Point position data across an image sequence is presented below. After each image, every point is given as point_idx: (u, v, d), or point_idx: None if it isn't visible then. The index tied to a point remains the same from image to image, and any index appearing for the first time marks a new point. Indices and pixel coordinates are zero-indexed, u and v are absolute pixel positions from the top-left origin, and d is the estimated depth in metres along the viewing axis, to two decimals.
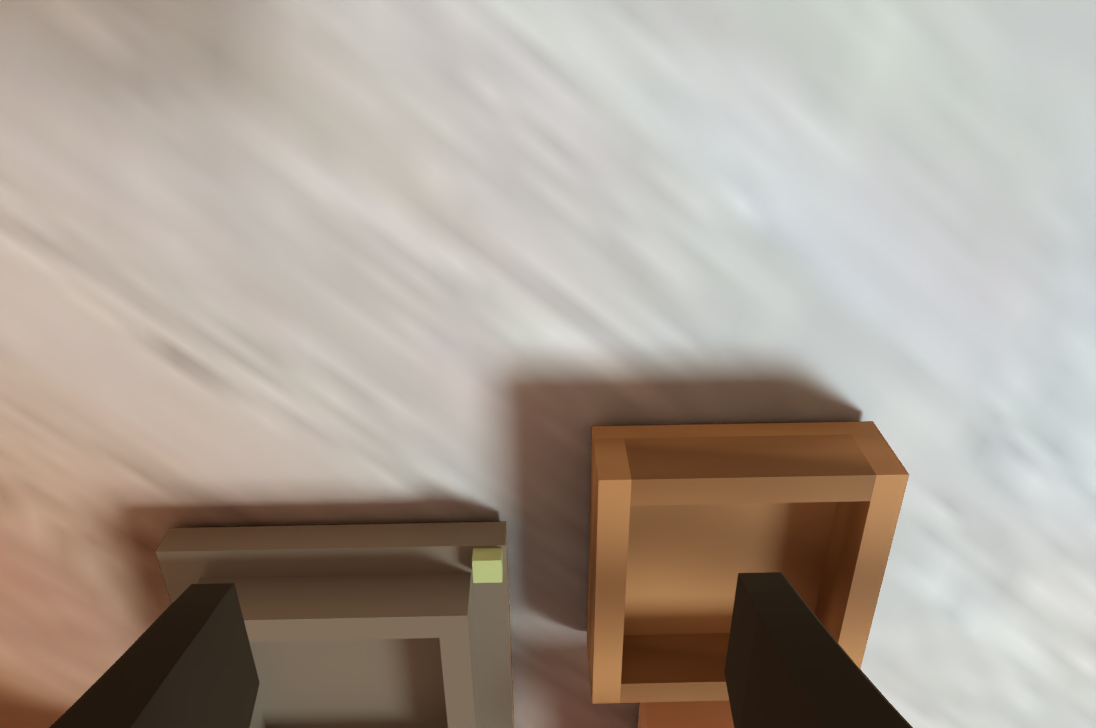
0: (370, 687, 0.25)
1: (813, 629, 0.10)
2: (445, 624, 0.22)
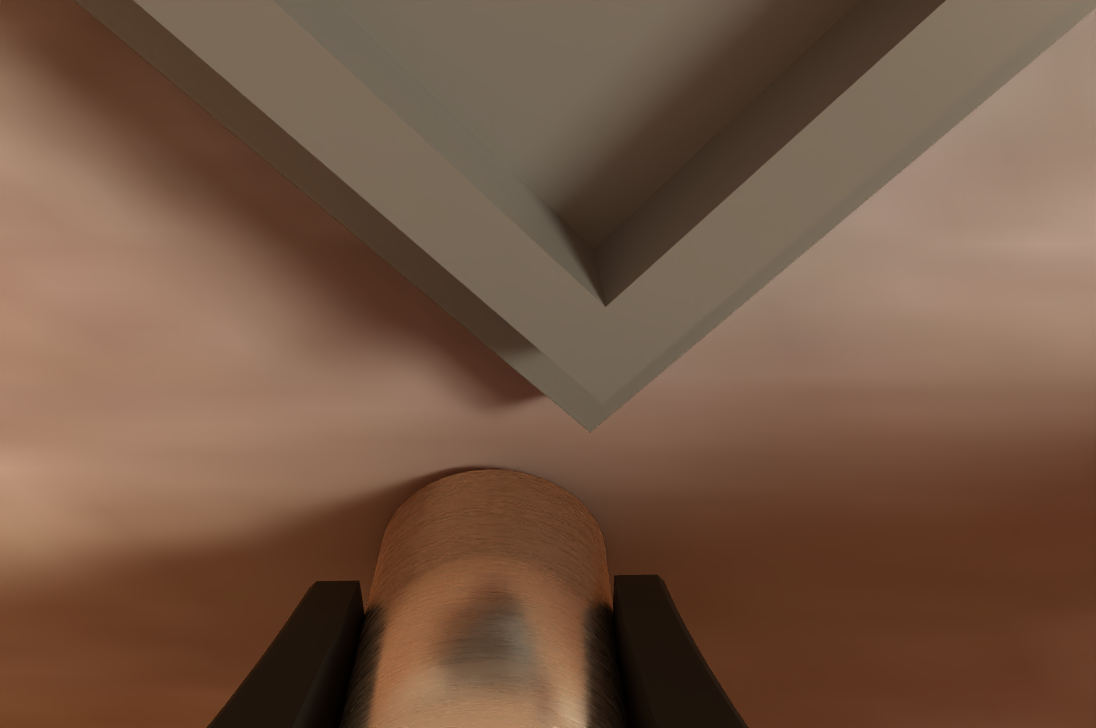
0: None
1: (672, 632, 0.10)
2: None
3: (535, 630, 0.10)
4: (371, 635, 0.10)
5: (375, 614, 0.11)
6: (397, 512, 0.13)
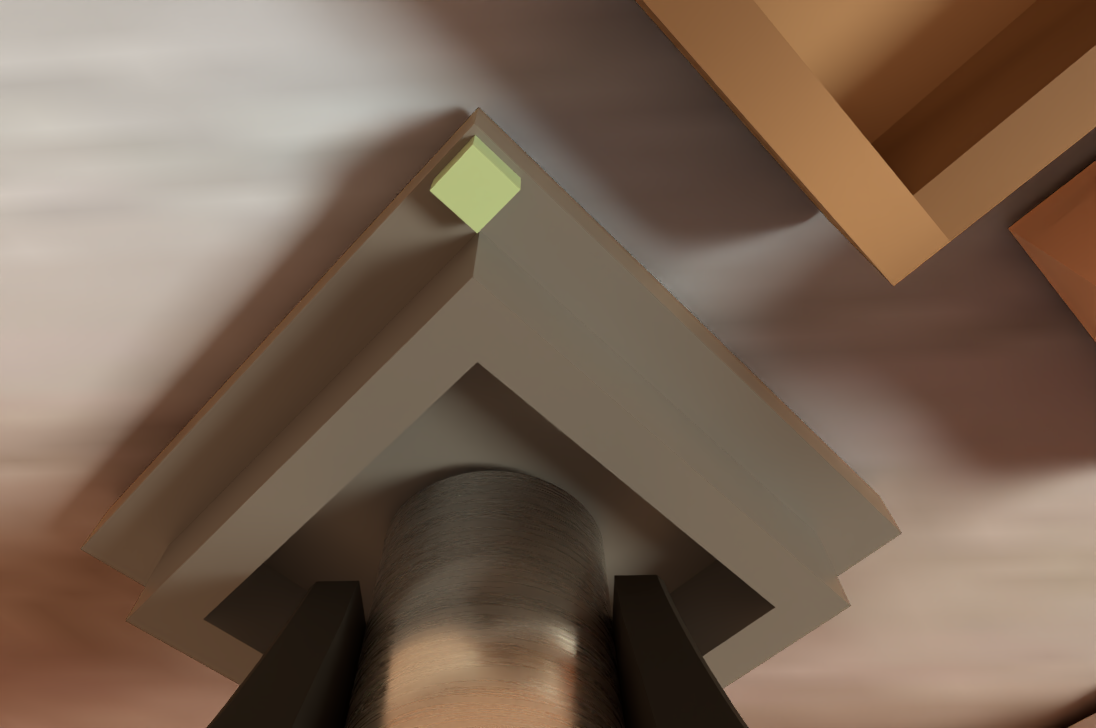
0: None
1: (673, 632, 0.10)
2: (460, 327, 0.10)
3: (538, 635, 0.10)
4: (377, 634, 0.11)
5: (381, 613, 0.11)
6: (401, 510, 0.13)
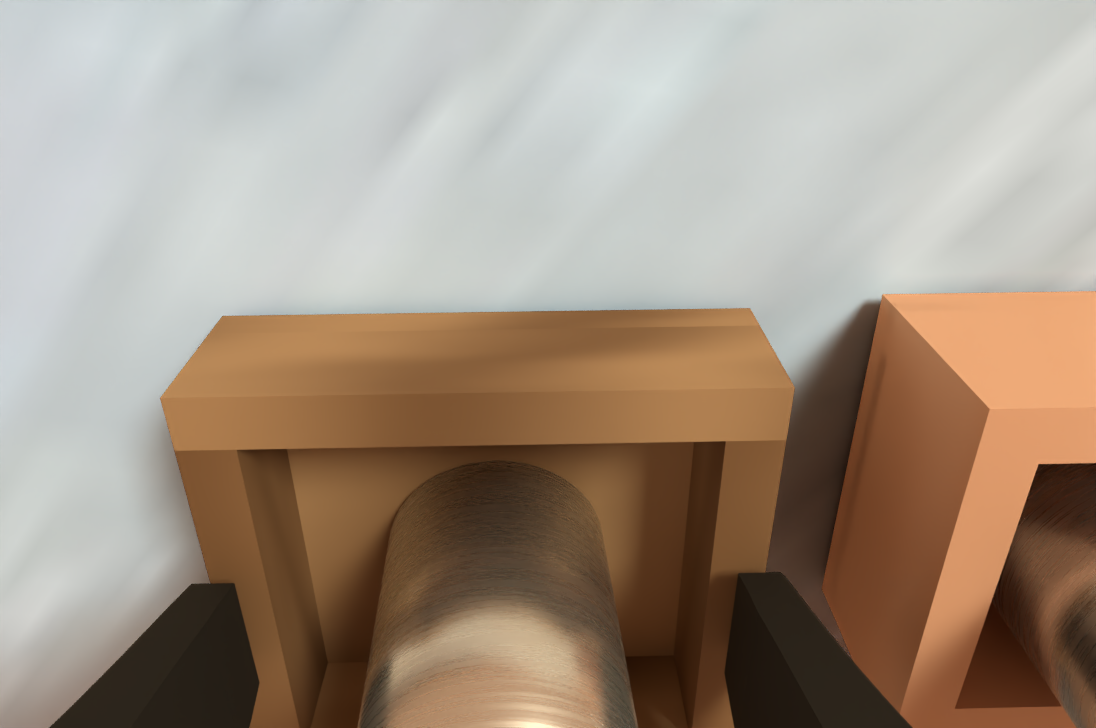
0: None
1: (813, 629, 0.10)
2: None
3: (547, 604, 0.10)
4: (390, 615, 0.11)
5: (392, 596, 0.11)
6: (406, 503, 0.13)
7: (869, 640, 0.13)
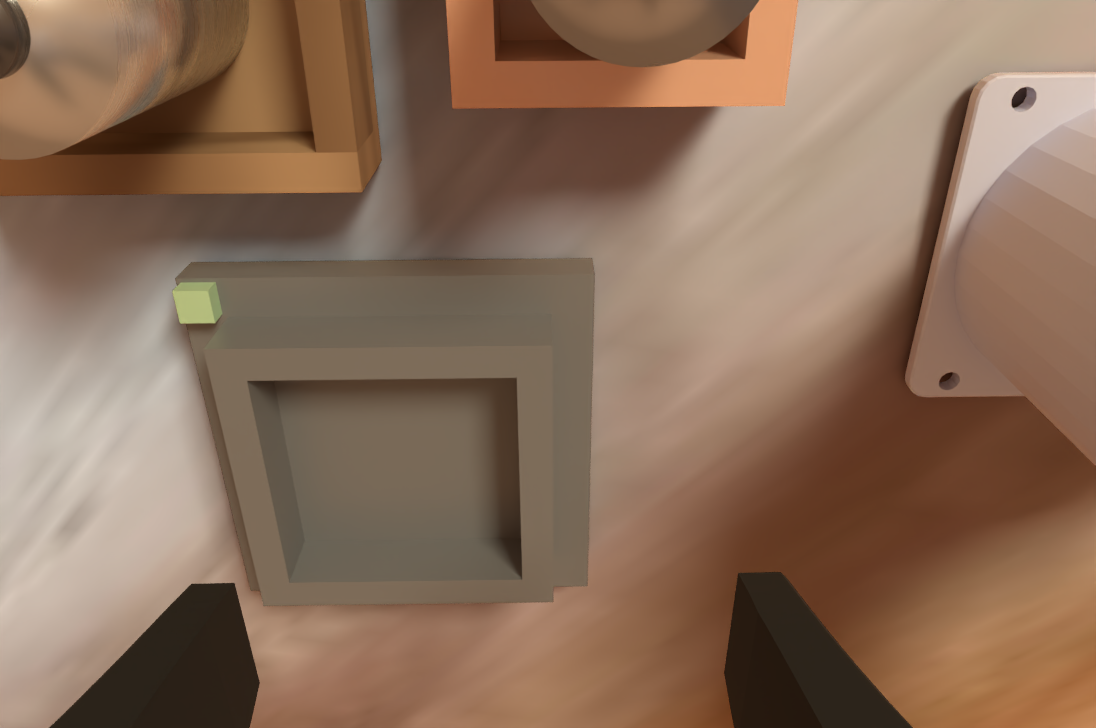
0: (433, 434, 0.21)
1: (813, 629, 0.10)
2: (225, 372, 0.18)
3: None
4: None
5: None
6: None
7: None
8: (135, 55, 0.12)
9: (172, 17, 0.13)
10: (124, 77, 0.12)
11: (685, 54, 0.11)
